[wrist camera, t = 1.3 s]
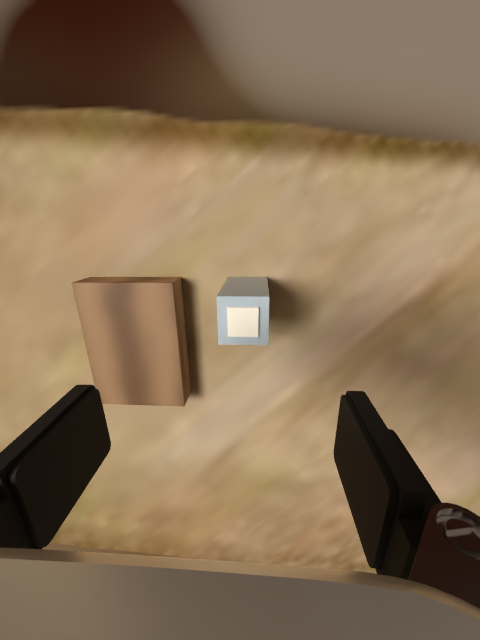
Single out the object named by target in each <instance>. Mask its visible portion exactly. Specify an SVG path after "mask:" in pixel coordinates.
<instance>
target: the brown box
mask: <svg viewBox="0 0 480 640" xmlns="http://www.w3.org/2000/svg"><path fill="white" fill-rule="evenodd" d="M72 287H73V291H74V296H75V300H76V304H77V309H78V313H79V318H80V322H81V327H82V331H83V335H84V340H85V344H86V349H87V353H88V358H89V362H90V367H91V371H92V375H93V380H94V384H95V388H96V389H98V390H99V392H100V396H101V401H102V404H128V405H157V406H185V404H186V402H187V399H188V397H189V394H190V392H191V386H190V374H189V363H188V351H187V340H186V329H185V317H184V306H183V294H182V283H181V277H89V278H86V279H82V280H79V281H76V282H73V283H72Z"/></svg>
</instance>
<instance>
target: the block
mask: <svg viewBox="0 0 480 640" xmlns="http://www.w3.org/2000/svg"><path fill="white" fill-rule="evenodd" d="M217 318H218V341H219V344H227V345H268V335H269V289H268V281H267V277H228V278H227V280H226V282H225V283H224V285H223V287H222V288H221V290H220V291H219V293H218V295H217Z"/></svg>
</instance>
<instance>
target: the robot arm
mask: <svg viewBox="0 0 480 640" xmlns="http://www.w3.org/2000/svg"><path fill="white" fill-rule="evenodd" d="M110 447H111V441H110V437H109V432H108V428H107V423H106V419H105V414H104V410H103V405H102V401H101V396H100V392H99V390H98V389H96V388H95V386H93V385H76V386H75V387H74V388H72V389H71V390H70V391H69V392H68V393H67V394H66V395H65V396H63V397H62V398H61V399H60V400H59V401H58V402H57V403H56V404H55V405H53V406H52V407H51V408H50V409H49V410H48V411H47V412H46V413H44V414H43V415H42V416H41V417H40V418H39V419H38V420H37V421H35V422H34V423H33V424H32V425H31V426H30V427H29V428H28V429H26V430H25V431H24V432H23V433H22V434H21V435H20V436H19V437H17V438H16V439H15V440H14V441H13V442H12V443H11V444H10V445H8V446H7V447H6V448H5V449H4V450H3V451H2V452H1V453H0V640H480V517H479V516H478V515H476V514H475V513H473V512H472V511H470V510H468V509H466V508H463V507H461V506H459V505H456V504H451V503H441V501H440V499H439V498H438V496H437V495H436V493H435V492H434V490H433V489H432V487H431V486H430V484H429V483H428V481H427V480H426V478H425V477H424V475H423V474H422V472H421V471H420V469H419V468H418V466H417V465H416V463H415V461H414V460H413V458H412V457H411V455H410V454H409V452H408V451H407V449H406V448H405V446H404V445H403V443H402V442H401V440H400V439H399V437H398V436H397V434H396V433H395V432H394V431H393V430H390V429H388V428H387V427H386V425H385V423H384V422H383V420H382V419H381V417H380V416H379V414H378V412H377V411H376V409H375V408H374V406H373V404H372V403H371V401H370V400H369V398H368V397H367V395H366V393H365V392H363V391H347V392H346V395H342V396H341V400H340V408H339V415H338V423H337V431H336V438H335V446H334V459H335V463H336V466H337V469H338V473H339V476H340V479H341V482H342V485H343V488H344V491H345V494H346V497H347V500H348V503H349V507H350V510H351V513H352V516H353V519H354V522H355V525H356V528H357V531H358V534H359V537H360V541H361V544H362V547H363V550H364V553H365V556H366V559H367V562H368V564H369V566H370V567H371V568H375V569H376V571H377V574H373V573H366V572H359V571H348V570H337V569H325V568H314V567H303V566H290V565H276V564H262V563H248V562H234V561H219V560H205V559H189V558H174V557H159V556H143V555H126V554H110V553H93V552H77V551H60V550H42V548H43V547H45V546H47V545H48V544H49V543H50V542H51V540H52V539H53V537H54V536H55V534H56V533H57V531H58V530H59V528H60V526H61V525H62V523H63V522H64V520H65V519H66V517H67V516H68V514H69V513H70V511H71V510H72V508H73V507H74V505H75V503H76V502H77V500H78V499H79V497H80V496H81V494H82V493H83V491H84V490H85V488H86V487H87V485H88V483H89V482H90V480H91V479H92V477H93V476H94V474H95V473H96V471H97V470H98V468H99V467H100V465H101V464H102V462H103V460H104V459H105V457H106V456H107V454H108V453H109V450H110Z"/></svg>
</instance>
